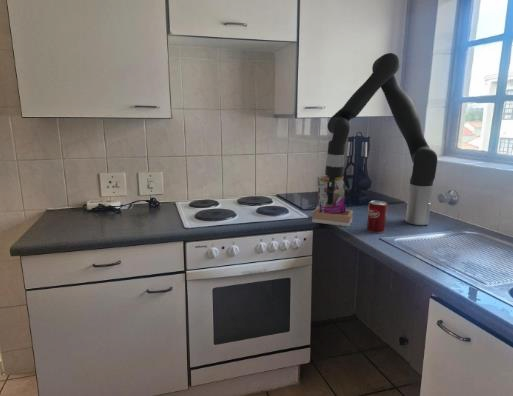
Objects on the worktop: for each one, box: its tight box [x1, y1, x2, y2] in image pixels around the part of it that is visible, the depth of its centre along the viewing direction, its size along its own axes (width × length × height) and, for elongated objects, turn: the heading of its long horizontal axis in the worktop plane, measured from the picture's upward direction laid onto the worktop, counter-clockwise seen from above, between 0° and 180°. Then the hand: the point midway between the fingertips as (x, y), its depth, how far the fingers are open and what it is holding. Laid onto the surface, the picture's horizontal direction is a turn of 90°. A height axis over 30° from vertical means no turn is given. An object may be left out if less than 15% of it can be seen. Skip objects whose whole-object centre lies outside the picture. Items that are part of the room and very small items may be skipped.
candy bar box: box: [316, 175, 346, 214], centre depth 167 cm, size 11×5×16 cm, turn 86°
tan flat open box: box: [311, 206, 354, 227], centre depth 169 cm, size 16×10×4 cm, turn 69°
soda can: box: [366, 200, 388, 234], centre depth 156 cm, size 7×7×12 cm
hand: (331, 202), depth 168 cm, fingers closed on candy bar box, 6 cm apart
